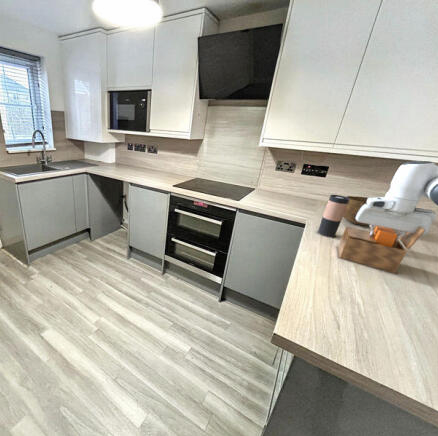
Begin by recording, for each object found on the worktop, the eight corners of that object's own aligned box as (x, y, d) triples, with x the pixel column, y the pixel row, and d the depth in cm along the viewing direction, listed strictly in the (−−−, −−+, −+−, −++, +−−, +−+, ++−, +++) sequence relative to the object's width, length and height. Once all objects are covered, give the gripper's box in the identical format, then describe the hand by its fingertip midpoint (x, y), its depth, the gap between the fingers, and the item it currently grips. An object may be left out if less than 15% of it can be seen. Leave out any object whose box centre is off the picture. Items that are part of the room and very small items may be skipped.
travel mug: (316, 229, 126) (328, 193, 118) (333, 233, 123) (347, 196, 116) (318, 234, 119) (332, 197, 112) (336, 238, 116) (352, 200, 109)
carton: (388, 259, 99) (399, 237, 95) (395, 273, 89) (407, 249, 85) (338, 246, 108) (346, 226, 104) (339, 257, 97) (348, 235, 94)
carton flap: (398, 237, 95) (399, 238, 95) (407, 249, 85) (408, 249, 85) (413, 220, 91) (414, 220, 91) (423, 229, 81) (425, 230, 81)
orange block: (387, 240, 95) (392, 229, 93) (391, 247, 89) (397, 235, 87) (371, 236, 98) (376, 225, 96) (374, 243, 92) (379, 231, 90)
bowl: (360, 230, 129) (371, 204, 123) (329, 218, 146) (337, 195, 140) (385, 229, 133) (397, 204, 127) (352, 217, 150) (362, 195, 145)
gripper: (435, 209, 85) (417, 243, 90) (362, 197, 96) (350, 228, 101) (442, 213, 80) (422, 249, 85) (364, 200, 91) (351, 233, 96)
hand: (382, 237), depth 93 cm, fingers closed on orange block, 5 cm apart
